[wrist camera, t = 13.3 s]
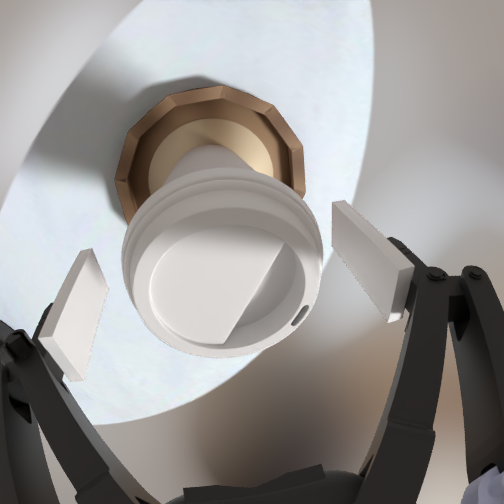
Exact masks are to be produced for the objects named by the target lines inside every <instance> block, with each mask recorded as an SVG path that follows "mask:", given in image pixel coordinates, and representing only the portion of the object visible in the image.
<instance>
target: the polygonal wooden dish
mask: <svg viewBox="0 0 504 504" xmlns="http://www.w3.org/2000/svg"><path fill="white" fill-rule="evenodd" d="M202 145H219V146H223V147H226V148H228V149H230V150H232V151H233V152H234V153H236V154H237V155H238V156H239V157H240V158H241V159H243V160H244V161H245V162H246V163H247V164H248V165H249V166H251V167H252V168H253V169H254V170H255V171H256V172H260V173H263V174H266V175H268V176H271V177H273V178H275V179H277V180H279V181H280V182H282V183H284V184H285V185H287V186H288V187H290V188H291V189H292V190H293V191H295V192H296V193H297V194H298V195H299V196H300V197H301V198H302V199H303V197H304V195H305V192H306V189H305V170H304V154H303V145H302V144H301V142H300V141H299V139H298V138H297V137H296V135H295V134H294V132H293V131H292V129H291V128H290V127H289V125H288V124H287V123H286V121H285V120H284V118H283V117H282V116H281V114H280V113H279V112H278V110H277V109H276V108H275V106H274V105H272V104H270V103H267V102H265V101H263V100H260V99H258V98H256V97H254V96H252V95H250V94H248V93H245V92H241V91H238V90H235V89H233V88H230V87H227V86H224V85H222V86H215V87H205V88H196V89H192V90H188V91H184V92H181V93H176V94H171V95H168V96H167V97H166V98H165V99H163V100H162V101H161V102H160V103H159V104H158V105H156V106H155V107H154V108H153V109H151V110H150V111H149V112H148V113H147V114H146V115H145V116H144V117H143V118H142V119H141V120H140V121H139V122H138V123H137V124H136V125H134V126H133V127H132V128H131V129H130V130H129V132H128V133H127V137H126V140H125V143H124V147H123V150H122V154H121V157H120V161H119V164H118V168H117V172H116V176H115V184H116V188H117V191H118V195H119V198H120V202H121V205H122V209H123V212H124V215H125V218H126V222H127V225H128V226H129V224H130V222H131V220H132V218H133V217H134V215H135V214H136V212H137V211H138V209H139V208H140V207H141V206H142V204H143V203H144V202H145V201H146V200H147V199H148V198H149V197H150V196H151V195H152V194H154V193H155V192H156V191H157V190H159V189H160V188H162V187H163V185H164V183H165V181H166V180H167V178H168V176H169V175H170V173H171V171H172V170H173V168H174V166H175V165H176V163H177V162H178V160H179V159H180V158H181V157H182V156H183V155H184V154H185V153H186V152H188V151H189V150H191V149H193V148H195V147H198V146H202Z"/></svg>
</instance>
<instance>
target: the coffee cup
mask: <svg viewBox="0 0 504 504" xmlns="http://www.w3.org/2000/svg"><path fill="white" fill-rule="evenodd" d="M121 262H122V271H123V278H124V283H125V286H126V289H127V292H128V294H129V297H130V299H131V301H132V303H133V305H134V307H135V308H136V310H137V311H138V313H139V315H140V317H141V319H142V321H143V322H144V324H145V325H146V326H147V328H148V329H149V330H150V331H151V332H152V333H153V334H154V335H155V336H156V337H157V338H159V339H160V340H161V341H163V342H164V343H166V344H167V345H169V346H171V347H173V348H175V349H177V350H179V351H182V352H185V353H188V354H191V355H195V356H200V357H207V358H232V357H239V356H244V355H248V354H252V353H255V352H258V351H261V350H264V349H266V348H268V347H270V346H272V345H274V344H276V343H278V342H279V341H281V340H282V339H284V338H285V337H287V336H288V335H289V334H290V333H292V332H293V331H294V330H295V329H296V328H297V327H298V326H299V325H300V324H301V323H302V322H303V321H304V319H305V318H306V317H307V315H308V314H309V312H310V311H311V309H312V307H313V305H314V303H315V301H316V298H317V295H318V291H319V286H320V278H321V274H322V267H323V245H322V240H321V235H320V231H319V227H318V224H317V222H316V219H315V217H314V215H313V213H312V212H311V210H310V208H309V207H308V206H307V204H306V203H305V202H304V200H303V199H302V198H301V197H300V196H299V195H298V194H297V193H296V192H295V191H293V190H292V189H291V188H290V187H288V186H287V185H285V184H284V183H282V182H280V181H279V180H277V179H275V178H273V177H271V176H268V175H266V174H263V173H260V172H256V171H255V170H254V169H253V168H252V167H251V166H249V165H248V164H247V163H246V162H245V161H244V160H243V159H241V158H240V157H239V156H238V155H237V154H236V153H234V152H233V151H232V150H230V149H228V148H226V147H223V146H219V145H202V146H198V147H195V148H193V149H191V150H189V151H188V152H186V153H185V154H184V155H183V156H182V157H181V158H180V159H179V160H178V162H177V163H176V165H175V166H174V168H173V170H172V171H171V173H170V175H169V176H168V178H167V180H166V181H165V183H164V185H163V187H162V188H160V189H159V190H157V191H156V192H155V193H154V194H152V195H151V196H150V197H149V198H148V199H147V200H146V201H145V202H144V203H143V204H142V206H141V207H140V208H139V209H138V211H137V212H136V214H135V215H134V217H133V218H132V220H131V222H130V224H129V226H128V228H127V231H126V234H125V237H124V241H123V246H122V255H121Z"/></svg>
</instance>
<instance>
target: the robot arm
mask: <svg viewBox="0 0 504 504" xmlns="http://www.w3.org/2000/svg"><path fill="white" fill-rule="evenodd" d="M332 247H333V248H334V250H335V251H336V252H337V253H338V255H339V256H340V258H341V259H342V260H343V262H344V263H345V264H346V266H347V267H348V268H349V270H350V271H351V272H352V274H353V275H354V276H355V278H356V279H357V280H358V282H359V283H360V284H361V286H362V287H363V288H364V290H365V291H366V293H367V294H368V295H369V297H370V298H371V300H372V301H373V302H374V304H375V305H376V306H377V308H378V309H379V311H380V312H381V314H382V315H383V317H384V318H385V320H386V321H387V322H388V323H389V322H392V321H395V320H398V319H401V318H403V313H404V310H405V308H406V309H407V310H408V312H409V313H410V315H409V318H408V322H407V325H406V328H405V336H404V340H403V345H402V349H401V353H400V357H399V361H398V364H397V368H396V372H395V376H394V379H393V383H392V386H391V389H390V393H389V395H388V399H387V402H386V405H385V408H384V411H383V414H382V417H381V420H380V422H379V425H378V428H377V431H376V433H375V436H374V439H373V441H372V444H371V446H370V449H369V451H368V454H367V456H366V458H365V460H364V462H363V464H362V466H361V468H360V470H359V473H358V475H356V474H354V473H350V472H346V471H340V470H323V468H322V465H321V464H319V465H316V466H312V467H308V468H305V469H301V470H297V471H293V472H289V473H286V474H284V475H282V476H280V477H278V478H275V479H273V480H271V481H269V482H267V483H264V484H262V485H260V486H257V487H254V488H244V487H230V486H220V485H213V486H203V487H190V488H183V491H184V495H182V496H179V497H177V498H175V499H173V500H171V501H169V502H167V503H166V504H416V501H417V498H418V495H419V493H420V490H421V486H422V483H423V480H424V477H425V474H426V471H427V468H428V464H429V461H430V457H431V453H432V450H433V445H434V441H435V431H433V423H434V418H435V413H436V408H437V403H438V398H439V392H440V386H441V380H442V373H443V366H444V358H445V349H446V339H447V326H448V324H449V328H450V333H451V337H452V342H453V347H454V352H455V358H456V364H457V369H458V375H459V382H460V389H461V397H462V406H463V416H464V428H465V444H466V466H467V475H468V481H469V486H468V487H467V488H466V490H465V492H464V495H463V499H462V500H461V504H504V311H503V308H502V306H501V303H500V301H499V299H498V297H497V294H496V292H495V290H494V288H493V285H492V283H491V281H490V279H489V277H488V275H487V273H486V272H485V271H484V270H482V269H481V268H479V267H477V266H466V267H464V269H463V270H462V274H461V276H448V274H447V273H446V272H445V271H443V270H442V269H440V268H437V267H427V266H426V265H425V264H424V263H423V262H422V261H421V260H420V259H419V258H418V257H417V256H416V255H415V254H414V253H412V251H410V250H409V249H408V248H407V247H406V246H405V245H404V244H403V243H402V242H401V241H399V240H397V239H395V238H393V237H389V238H386V237H385V236H384V235H383V234H381V233H380V232H379V231H378V230H377V229H376V228H375V227H374V226H373V225H372V224H371V223H370V222H369V221H367V220H366V219H365V218H364V217H363V216H362V215H361V214H360V213H359V212H357V211H356V210H355V209H354V208H353V207H352V206H351V205H350V204H348V203H347V202H346V201H345V200H343V201H336V202H332ZM108 291H109V287H108V285H107V283H106V280H105V278H104V276H103V273H102V271H101V269H100V266H99V264H98V262H97V259H96V257H95V254H94V252H93V249H92V248H91V249H86V250H82V251H80V253H79V254H78V256H77V258H76V260H75V262H74V263H73V265H72V267H71V269H70V271H69V273H68V275H67V277H66V279H65V281H64V283H63V285H62V287H61V289H60V291H59V293H58V295H57V297H56V299H55V301H54V303H51V304H50V305H49V306H48V307H47V308H46V309H45V310H44V313H43V315H42V317H41V319H40V321H39V323H38V326H37V328H36V330H35V332H34V335H33V337H32V339H30V337H29V336H28V334H27V333H26V332H25V330H23V329H18V330H15V331H14V330H12V329H11V328H10V327H8V326H7V325H6V324H4V323H3V322H1V321H0V504H60V503H59V500H58V497H57V494H56V491H55V489H54V485H53V483H52V479H51V476H50V472H49V469H48V466H47V462H46V458H45V454H44V450H43V446H42V442H41V437H40V432H39V428H38V423H39V425H40V427H41V430H42V431H43V433H44V435H45V438H46V440H47V441H48V443H49V445H50V447H51V449H52V451H53V452H54V454H55V456H56V458H57V460H58V461H59V463H60V465H61V467H62V468H63V470H64V472H65V473H66V475H67V477H68V478H69V480H70V481H71V483H72V485H73V486H74V488H75V489H76V491H77V494H76V496H75V499H76V501H77V503H78V504H161V503H160V502H158V501H157V500H156V499H155V498H153V497H152V496H151V495H150V494H149V493H148V492H147V491H146V490H145V489H144V488H143V487H142V486H141V485H140V484H139V483H138V482H137V481H136V479H135V478H134V477H133V476H132V475H131V474H130V473H129V472H128V470H127V469H126V468H125V467H124V466H123V465H122V463H121V462H120V461H119V460H118V459H117V457H116V456H115V455H114V454H113V452H112V451H111V450H110V448H109V447H108V446H107V445H106V444H105V442H104V441H103V439H102V438H101V437H100V435H99V434H98V433H97V431H96V430H95V429H94V427H93V426H92V424H91V423H90V421H89V420H88V419H87V417H86V416H85V414H84V413H83V411H82V410H81V408H80V407H79V405H78V404H77V402H76V400H75V399H74V397H73V396H72V394H71V392H70V391H69V389H68V388H67V386H66V384H65V383H64V382H63V381H62V378H63V375H64V374H65V375H66V377H67V378H68V379H69V380H70V381H71V382H72V381H85V376H86V372H87V367H88V363H89V359H90V355H91V351H92V347H93V343H94V339H95V335H96V332H97V328H98V324H99V321H100V317H101V314H102V310H103V307H104V304H105V301H106V297H107V294H108ZM37 421H38V422H37Z"/></svg>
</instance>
